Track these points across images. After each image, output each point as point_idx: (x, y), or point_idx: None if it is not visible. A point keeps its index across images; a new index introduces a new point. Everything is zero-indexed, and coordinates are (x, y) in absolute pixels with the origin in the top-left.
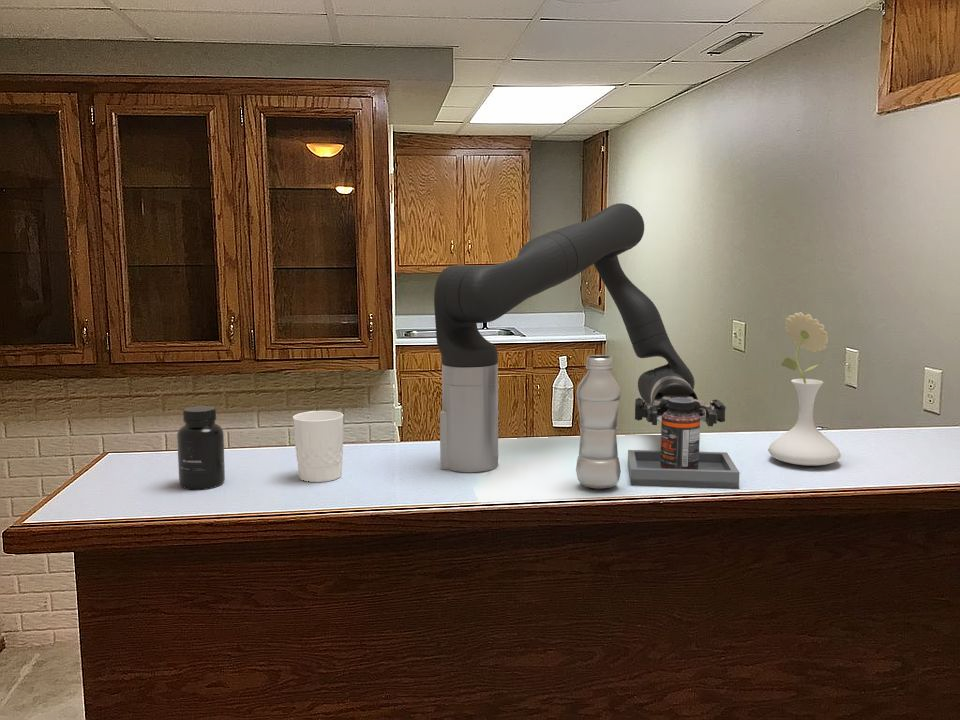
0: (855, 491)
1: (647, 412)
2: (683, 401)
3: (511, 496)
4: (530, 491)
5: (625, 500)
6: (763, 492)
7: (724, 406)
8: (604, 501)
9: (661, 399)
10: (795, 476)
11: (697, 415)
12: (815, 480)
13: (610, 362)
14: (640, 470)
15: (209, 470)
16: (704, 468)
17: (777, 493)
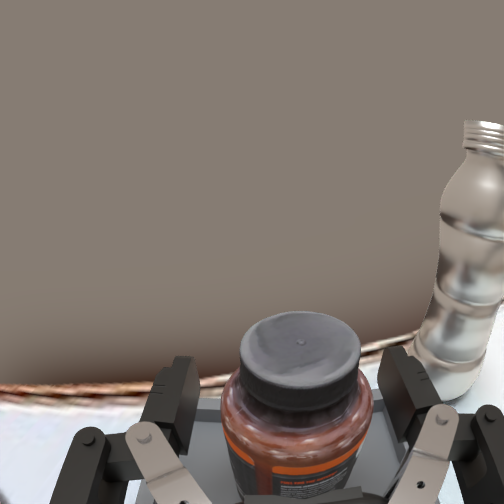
0: (14, 389)
1: (426, 375)
2: (291, 320)
3: (500, 324)
4: (498, 342)
5: (375, 346)
6: (139, 399)
7: (80, 435)
8: (401, 337)
9: (420, 501)
10: (31, 468)
11: (233, 376)
12: (19, 441)
13: (464, 131)
14: (377, 389)
15: None
16: (218, 501)
17: (119, 394)
